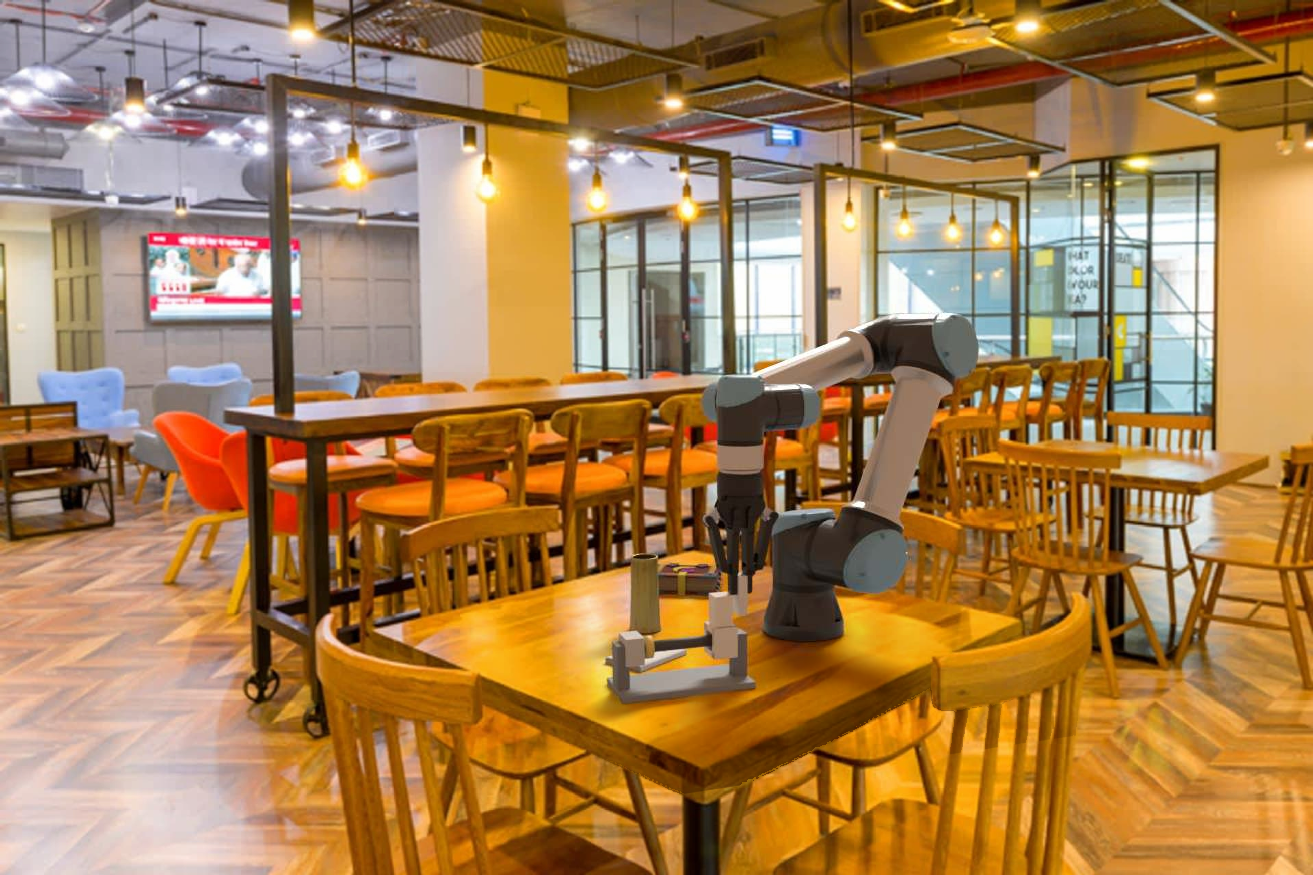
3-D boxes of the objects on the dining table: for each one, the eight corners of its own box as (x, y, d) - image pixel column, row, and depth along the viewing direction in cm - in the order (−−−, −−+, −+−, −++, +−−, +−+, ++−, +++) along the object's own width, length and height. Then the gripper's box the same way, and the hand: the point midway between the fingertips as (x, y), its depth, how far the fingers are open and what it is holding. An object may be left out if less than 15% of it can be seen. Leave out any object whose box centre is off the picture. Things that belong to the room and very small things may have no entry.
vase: (667, 628, 211) (666, 555, 209) (645, 635, 206) (644, 561, 205) (644, 623, 215) (643, 551, 213) (622, 629, 210) (621, 556, 209)
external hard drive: (605, 665, 191) (651, 648, 200) (641, 675, 185) (686, 656, 195) (605, 656, 190) (651, 639, 200) (640, 665, 185) (686, 647, 195)
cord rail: (732, 669, 186) (732, 616, 185) (755, 687, 177) (755, 631, 176) (607, 683, 180) (606, 628, 179) (623, 703, 170) (622, 645, 169)
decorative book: (656, 582, 249) (655, 560, 249) (727, 584, 246) (727, 562, 246) (647, 594, 238) (647, 572, 237) (721, 597, 235) (721, 574, 235)
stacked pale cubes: (727, 648, 183) (726, 589, 182) (737, 657, 178) (737, 596, 177) (704, 651, 181) (703, 591, 180) (714, 659, 177) (714, 598, 176)
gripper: (768, 465, 183) (767, 604, 185) (694, 469, 179) (694, 611, 182) (786, 471, 176) (786, 615, 178) (710, 475, 172) (710, 622, 174)
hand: (740, 613), depth 180 cm, fingers closed
